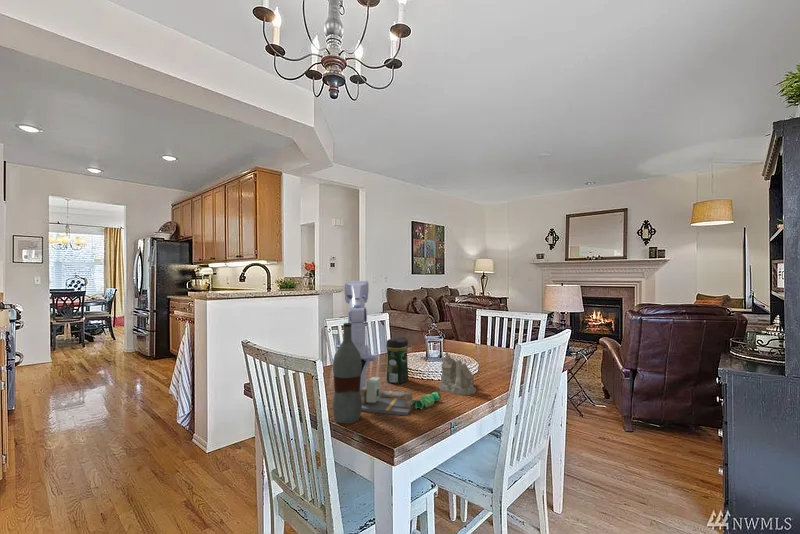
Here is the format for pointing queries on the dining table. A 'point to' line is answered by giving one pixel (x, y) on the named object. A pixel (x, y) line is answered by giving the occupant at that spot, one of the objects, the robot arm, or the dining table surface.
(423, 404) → the candy
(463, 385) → the jagged grey rock
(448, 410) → the dining table surface
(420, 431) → the dining table surface
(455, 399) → the dining table surface
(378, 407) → the pipe rig
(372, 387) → the grey square nut
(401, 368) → the coffee jar
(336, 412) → the bottle
